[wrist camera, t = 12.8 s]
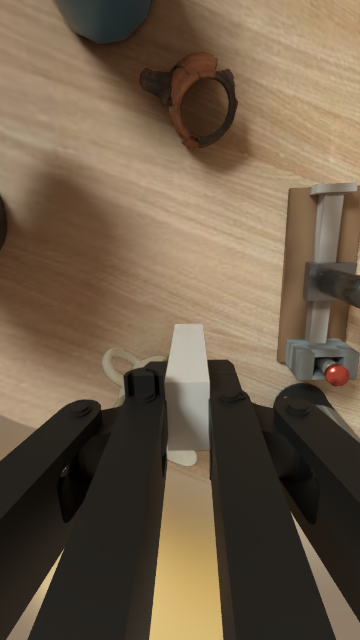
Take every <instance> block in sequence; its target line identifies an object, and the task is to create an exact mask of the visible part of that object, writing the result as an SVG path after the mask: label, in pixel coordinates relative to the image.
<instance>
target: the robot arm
mask: <svg viewBox="0 0 360 640" xmlns="http://www.w3.org/2000/svg"><path fill="white" fill-rule="evenodd" d="M6 229H7V221H6V214H5V210H4V206H3V203H2V201H1V199H0V249H1V247H2V245H3V243H4V240H5V236H6ZM123 378H124V389H125V400H124V403H123V405H121V406H118V407H115V408H111V409H106V410H101V405H100V404H99V403H98V402H97V401H94V400H85V399H84V400H78V401H75V402H72V403H70V404H68V405H66V406H65V407H63V408H62V409H60V410H59V411H58V412H57V413H56V414H55V415H53V416H52V417H51V418H50V419H49V420H48V421H46V422H45V423H44V424H43V425H42V426H41V427H40V428H38V429H37V430H36V431H35V432H34V433H33V434H31V435H30V436H29V437H28V438H27V439H26V440H25V441H23V442H22V443H21V444H20V445H19V446H17V447H16V448H15V449H14V450H13V451H12V452H10V453H9V454H8V455H7V456H6V457H5V458H3V459H2V460H1V461H0V640H6V639H7V637H8V636H9V634H10V633H11V631H12V629H13V628H14V626H15V625H16V623H17V622H18V620H19V618H20V617H21V615H22V614H23V612H24V611H25V609H26V607H27V606H28V604H29V603H30V601H31V599H32V598H33V596H34V595H35V593H36V592H37V590H38V588H39V587H40V585H41V584H42V582H43V581H44V579H45V577H46V576H47V574H48V573H49V571H50V570H51V568H52V567H53V565H54V563H55V562H56V560H57V559H58V557H59V556H60V554H61V552H62V551H63V549H64V551H63V553H62V556H61V558H60V561H59V563H58V566H57V568H56V571H55V573H54V575H53V578H52V581H51V583H50V585H49V588H48V590H47V593H46V595H45V598H44V600H43V603H42V605H41V608H40V610H39V612H38V615H37V617H36V620H35V622H34V625H33V627H32V630H31V632H30V635H29V637H28V640H149V635H150V625H151V615H152V606H153V596H154V585H155V576H156V566H157V557H158V548H159V538H160V528H161V519H162V509H163V498H164V490H165V480H166V470H167V443H168V451H210V480H211V485H212V497H213V509H214V523H215V536H216V547H217V560H218V573H219V574H218V575H219V587H220V600H221V613H222V626H223V638H224V640H336V638H335V635H334V632H333V630H332V627H331V624H330V621H329V618H328V616H327V613H326V610H325V607H324V604H323V602H322V599H321V596H320V593H319V590H318V588H317V585H316V582H315V579H314V576H313V574H312V571H311V568H310V565H309V562H308V560H307V557H306V554H305V551H304V549H303V546H302V543H301V540H300V537H299V535H298V532H297V529H296V526H295V523H294V520H293V518H292V515H291V513H292V514H293V516H294V518H295V519H296V521H297V522H298V524H299V526H300V527H301V529H302V530H303V532H304V534H305V535H306V537H307V538H308V540H309V542H310V543H311V545H312V546H313V548H314V549H315V551H316V553H317V555H318V556H319V558H320V559H321V561H322V563H323V564H324V566H325V567H326V569H327V571H328V572H329V574H330V575H331V577H332V579H333V580H334V582H335V583H336V585H337V587H338V588H339V590H340V591H341V593H342V595H343V596H344V598H345V599H346V601H347V603H348V604H349V606H350V607H351V609H352V611H353V612H354V614H355V615H356V616H357V619H358V620H359V622H360V443H359V442H358V441H357V440H356V439H355V438H353V437H352V436H351V435H350V434H349V433H348V432H346V431H345V430H344V429H343V428H342V427H340V426H339V425H338V424H337V423H336V422H335V421H333V420H332V419H331V418H330V417H329V416H328V415H326V414H325V413H324V412H323V411H322V410H321V409H319V408H318V407H317V406H316V405H314V404H313V403H311V402H309V401H306V400H304V399H301V398H296V397H287V398H282V399H279V400H278V401H277V402H276V403H275V408H269V407H264V406H260V405H257V404H254V403H252V402H251V400H250V397H249V396H248V394H247V393H246V392H244V391H242V389H241V386H240V383H239V380H238V377H237V374H236V371H235V368H234V365H233V364H232V363H231V362H230V361H228V360H207V357H206V349H205V341H204V333H203V325H202V324H175V328H174V334H173V339H172V344H171V350H170V355H169V360H168V361H150V362H149V363H147V364H146V365H145V366H144V367H141V368H136V369H132V370H130V371H128V372H126V374H125V375H124V376H123ZM65 467H66V469H65ZM64 469H65V470H64ZM63 470H64V471H63ZM290 511H291V512H290Z"/></svg>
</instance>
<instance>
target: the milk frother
mask: <svg viewBox="0 0 360 640" xmlns="http://www.w3.org/2000/svg"><path fill="white" fill-rule="evenodd" d="M287 397H296V398H301V399H304V400H306V401H309V402H311V403H313V404H314V405H316V406H317V407H318V408H319V409H321V410H322V411H323V412H324V413H325V414H326V415H328V416H329V417H330V418H331V419H332V420H333V421H335V422H336V423H337V424H338V425H339V426H340V427H342V428H343V429H344V430H345V431H346V432H348V433H349V434H350V435H351V436H352V437H353V438H355V439H356V440H357V441H358V442H359V443H360V438H359V437H358V436H357V435H356V434H355V433H354V431H353V430H352V429H351V428H350V427H349V426H348V424H347V423H346V422H345V421H344V420H343V419H342V417H341V416H340V415H339V414H338V413H337V412H336V411H335V409H334V408H333V407H332V406H331V404H330V403H329V402H328V400H327V399H326V396H325V394H324V393H323V392H322V391H321V390H320V389H319V388H317V387H315V386H313V385H310V384H304V383H300V384H294V385H291V386H289V387H287V388H285V389H284V390H283V391H281V392H280V393H279V395H278V396H277V397H276V399H275V402H274V405H273V408H275V403H276V402H277V401H278V400H279V399H282V398H287Z"/></svg>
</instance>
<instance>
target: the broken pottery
mask: <svg viewBox="0 0 360 640" xmlns="http://www.w3.org/2000/svg"><path fill="white" fill-rule="evenodd" d="M216 66H217V58H215V57H214V56H213V55H211V54H208V53H204V52H197V53H193V54H190V55H188V56H187V57H185V58H183V59H182V60H181V61H179V62H178V63H177V64H176V65H175V66H174V68H173V69H172V70H171V71H170V72H159V71H152V70H150V69H148V68H145V69H144V70H143V71H142V73H141V74H140V84H141V86H142V88H143V89H144V90H145V91H147V92H149V93H152V94H153V95H155V96H157V97H159V98H160V99H161V102H162V105H163V106H166V105H167V104H168V103H169V101H170V99H171V100H172V104H173V105H172V106H170V107H169V112H170V116H171V119H172V122H173V125H174V127H175V129H176V130H177V132H178V134H179V135H180V137H181V138H182V139H183V141H182V144H184V145H186V146H189V147H193V148H197V147H198V148H203V147H206V146H208V145H211V144H212V143H214V142H216V141H217V140H219V139H220V138H221V137H222V136H223V135H224V134H225V132H227V130H228V129H229V127H230V125H231V123H232V121H233V119H234V116H235V112H236V109H237V105H238V101H237V99H236V97H235V84H234V81H233V79H234V77H233V74H232V73H231V71H230V70H229V69H226V70H222V71H215V69H216ZM206 78H209V79H215V80H217V81H218V82H220V83H221V84H222V85H223V87H224V88H225V90H226V92H227V95H228V99H229V107H228V113H227V116H226V119H225V121H224V123H223V124H222V126H221V127H220V128H219V129H218V130H217V131H216V132H214V133H213V134H211V135H209V136H205V137H198V138H195V137H193V136H191V134H190V132H189V131H188V130H187V129H186V127H185V125H184V123H183V120H182V115H181V104H182V101H183V98H184V95H185V93H186V92H187V90H188V89H189V88H190V86H191V85H193V84H194V83H195V82H197V81H199V80H201V79H206Z"/></svg>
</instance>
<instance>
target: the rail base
mask: <svg viewBox="0 0 360 640" xmlns="http://www.w3.org/2000/svg"><path fill="white" fill-rule="evenodd" d="M357 184H358V183H336V184H317V185H315V186H312V187H310V188H291V189H289V195H288V209H287V223H286V237H285V251H284V265H283V279H282V293H281V307H280V321H279V335H278V349H277V361H278V362H285V363H286V365H287V366H288V367H289V369H290V370H291V371H292V373H293V374H294V375H295V377H296V378H297V379H298V380H326V379H325V377H324V374H323V373H322V371H321V370H320V369H319V368H318V367H317V366H316V365H315V364H314V360H315V357H330V358H331V359H332V360H333V361H334V362H336V363H337V364H341V365H343V366H344V367H345V368H346V369H347V370H348V371H349V373H350V377H349V380H356V375H357V369H358V363H359V356H360V353H359V352H357V351H356V350H354V349H353V348H352V347H350V346H349V345H347V344H346V343H344V341H345V334H346V327H347V320H348V313H349V306H350V304H348V303H345V302H343V301H341V300H329V301H306V300H304V299H303V285H304V274H305V263H306V262H315V263H328V262H336V261H341V262H354V263H356V256H357V249H358V242H359V234H360V186H357Z"/></svg>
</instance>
